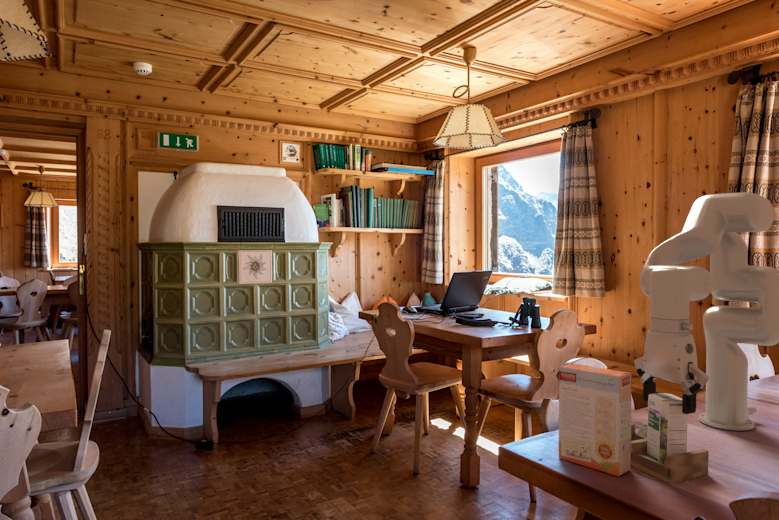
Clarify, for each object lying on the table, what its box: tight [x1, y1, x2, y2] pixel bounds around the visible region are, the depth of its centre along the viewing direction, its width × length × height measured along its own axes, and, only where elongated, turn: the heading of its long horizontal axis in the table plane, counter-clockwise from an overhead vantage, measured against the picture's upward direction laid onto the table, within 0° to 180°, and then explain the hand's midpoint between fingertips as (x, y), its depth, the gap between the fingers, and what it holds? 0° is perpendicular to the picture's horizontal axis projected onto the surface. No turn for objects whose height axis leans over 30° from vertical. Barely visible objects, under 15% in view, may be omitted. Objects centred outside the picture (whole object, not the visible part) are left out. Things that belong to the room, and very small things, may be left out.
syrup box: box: [646, 392, 689, 464], centre depth 116 cm, size 6×6×14 cm
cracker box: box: [558, 363, 632, 477], centre depth 119 cm, size 14×6×21 cm, turn 42°
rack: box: [631, 423, 709, 485], centre depth 120 cm, size 11×20×5 cm, turn 23°
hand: (668, 406), depth 116 cm, fingers open, 9 cm apart
